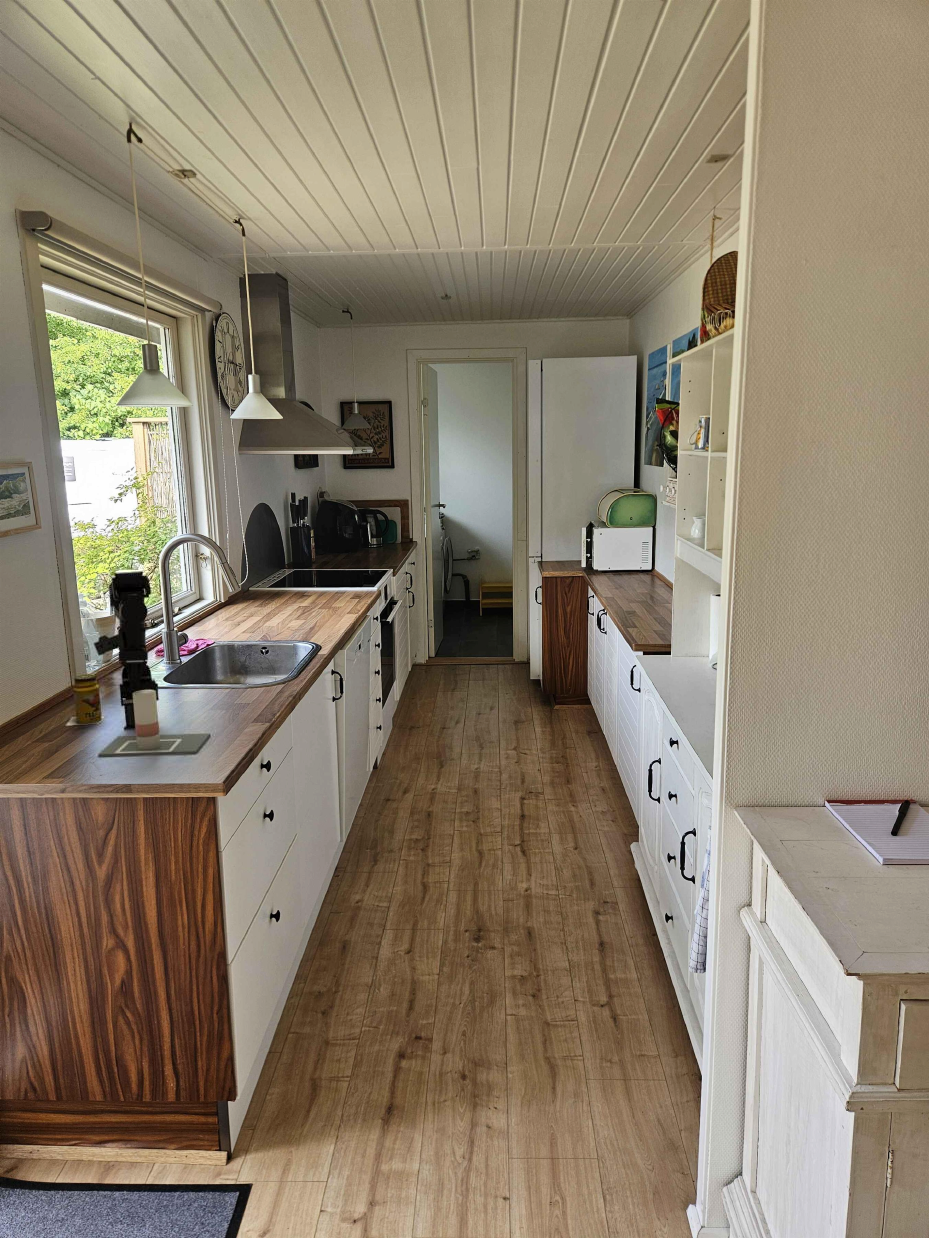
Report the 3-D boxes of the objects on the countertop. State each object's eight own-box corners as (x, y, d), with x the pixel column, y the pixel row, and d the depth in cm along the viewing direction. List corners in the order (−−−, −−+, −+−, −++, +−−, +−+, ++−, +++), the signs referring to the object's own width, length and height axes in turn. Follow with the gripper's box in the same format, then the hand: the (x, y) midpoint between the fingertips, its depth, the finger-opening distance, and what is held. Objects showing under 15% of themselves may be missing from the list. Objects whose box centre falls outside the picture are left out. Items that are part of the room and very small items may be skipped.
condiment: (100, 723, 215) (96, 678, 213) (65, 726, 214) (60, 681, 211) (105, 715, 222) (101, 672, 220) (71, 718, 221) (67, 674, 218)
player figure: (134, 750, 192) (129, 695, 190) (141, 743, 197) (136, 689, 195) (156, 749, 193) (151, 695, 190) (163, 742, 198) (158, 689, 195)
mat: (98, 756, 190) (97, 753, 190) (118, 738, 203) (118, 735, 203) (196, 753, 191) (195, 750, 191) (210, 735, 204) (210, 732, 204)
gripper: (96, 622, 204) (98, 686, 204) (93, 625, 187) (95, 694, 187) (145, 621, 208) (146, 684, 209) (147, 624, 191) (148, 692, 191)
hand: (133, 688), depth 199 cm, fingers open, 9 cm apart
